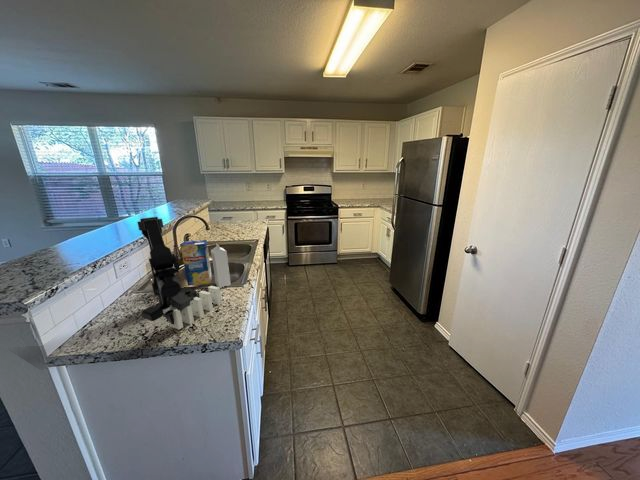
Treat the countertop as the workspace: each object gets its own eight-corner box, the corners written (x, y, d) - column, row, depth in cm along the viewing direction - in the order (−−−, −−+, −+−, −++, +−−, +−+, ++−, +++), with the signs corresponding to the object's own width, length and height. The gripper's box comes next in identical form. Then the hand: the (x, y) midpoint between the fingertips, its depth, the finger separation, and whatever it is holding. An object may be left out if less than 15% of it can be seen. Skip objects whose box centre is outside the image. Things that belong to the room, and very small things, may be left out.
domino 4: (201, 308, 111) (198, 292, 109) (204, 306, 113) (202, 290, 111) (209, 311, 109) (207, 294, 107) (213, 309, 111) (210, 292, 109)
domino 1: (169, 326, 98) (165, 308, 96) (174, 323, 100) (170, 306, 97) (178, 330, 96) (174, 311, 94) (183, 327, 98) (179, 308, 95)
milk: (219, 288, 129) (212, 247, 122) (215, 284, 133) (209, 244, 126) (231, 285, 132) (225, 245, 125) (227, 281, 137) (222, 242, 130)
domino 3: (191, 315, 107) (188, 298, 105) (195, 312, 109) (192, 295, 106) (200, 317, 105) (197, 300, 103) (204, 315, 107) (201, 298, 104)
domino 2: (181, 321, 103) (177, 304, 100) (185, 319, 104) (182, 301, 102) (190, 324, 101) (186, 307, 98) (194, 321, 102) (191, 304, 100)
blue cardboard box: (210, 283, 134) (204, 243, 128) (187, 285, 132) (180, 245, 125) (212, 277, 141) (206, 239, 134) (190, 280, 138) (183, 241, 132)
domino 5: (210, 303, 116) (207, 287, 113) (213, 301, 117) (211, 285, 115) (218, 305, 114) (216, 289, 111) (221, 303, 115) (219, 287, 113)
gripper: (158, 303, 81) (167, 343, 86) (204, 279, 98) (210, 314, 102) (135, 296, 86) (145, 335, 90) (184, 274, 102) (190, 308, 107)
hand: (175, 322), depth 97 cm, fingers closed on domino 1, 2 cm apart
